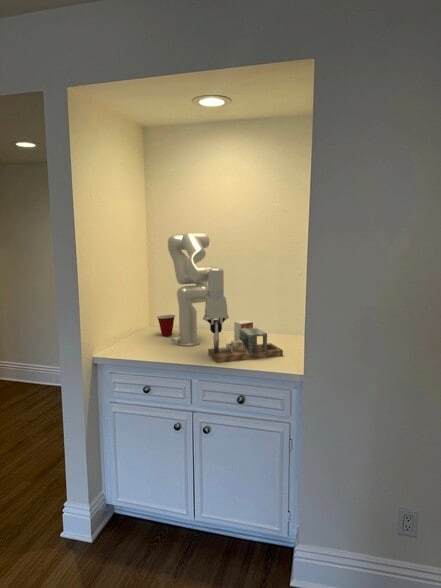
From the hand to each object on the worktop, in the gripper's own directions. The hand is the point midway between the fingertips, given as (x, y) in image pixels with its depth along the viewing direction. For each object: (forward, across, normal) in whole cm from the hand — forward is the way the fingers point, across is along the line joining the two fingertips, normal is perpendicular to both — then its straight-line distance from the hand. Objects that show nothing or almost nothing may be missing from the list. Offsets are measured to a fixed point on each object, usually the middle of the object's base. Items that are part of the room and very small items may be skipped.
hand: (216, 331), depth 205 cm
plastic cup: (+13, -14, +54) cm, 57 cm away
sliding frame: (+10, +6, 0) cm, 12 cm away
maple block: (+10, +11, 0) cm, 15 cm away
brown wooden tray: (+13, +15, 0) cm, 20 cm away
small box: (+13, +21, +18) cm, 31 cm away
